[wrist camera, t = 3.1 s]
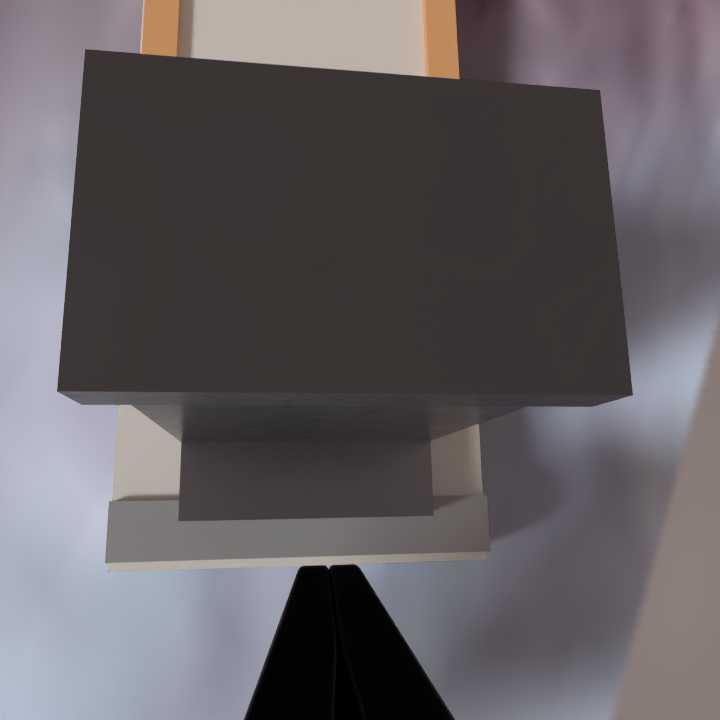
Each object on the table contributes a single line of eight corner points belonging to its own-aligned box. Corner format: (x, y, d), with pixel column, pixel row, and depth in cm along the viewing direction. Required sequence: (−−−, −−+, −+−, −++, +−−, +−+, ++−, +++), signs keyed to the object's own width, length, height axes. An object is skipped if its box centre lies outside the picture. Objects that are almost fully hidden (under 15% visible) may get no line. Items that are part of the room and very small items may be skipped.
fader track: (460, 552, 16) (491, 561, 14) (127, 563, 15) (104, 573, 13) (430, -52, 20) (451, -122, 18) (163, -82, 19) (150, -159, 17)
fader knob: (430, 514, 14) (647, 529, 6) (174, 520, 13) (45, 546, 5) (420, 254, 15) (588, -12, 7) (185, 244, 15) (94, -62, 7)
